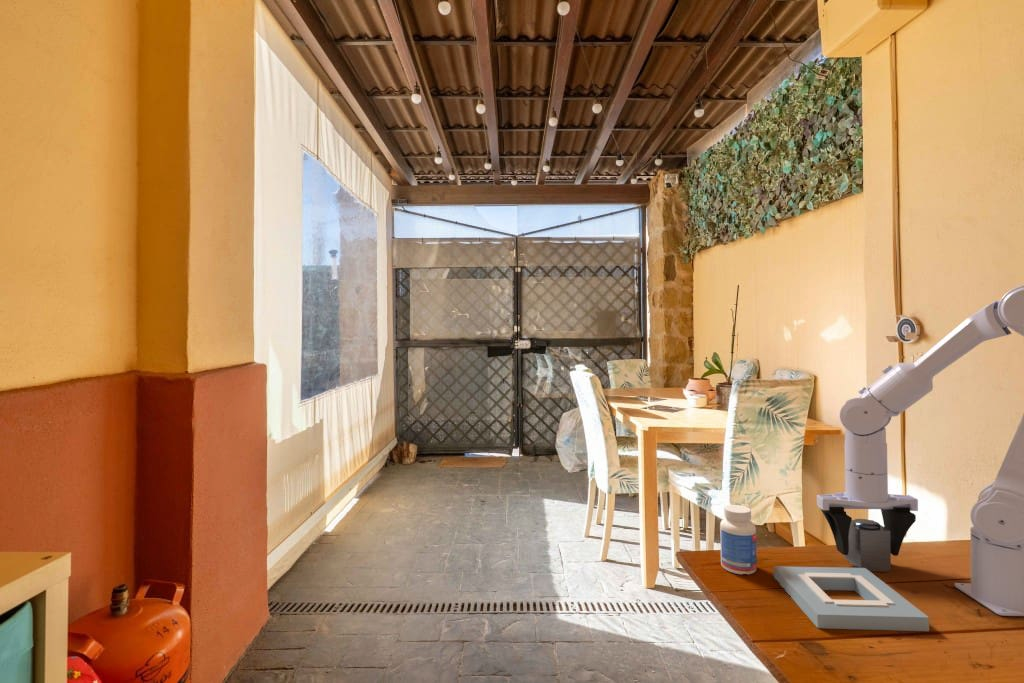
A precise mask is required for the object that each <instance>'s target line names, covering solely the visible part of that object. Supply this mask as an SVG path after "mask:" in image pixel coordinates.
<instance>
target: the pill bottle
mask: <svg viewBox="0 0 1024 683" xmlns="http://www.w3.org/2000/svg"><path fill="white" fill-rule="evenodd" d="M723 510H724V511H723V512H724V517H725V518H724V519H722V520H721V521H720V524H719V532H720V534H719V535H720V565H721V567H722V568H723V569H724V570H726V571H728V572H730V573H732V574H737V575H743V574H747V575H752V574H754V573H755V572H756V571H757V567H758V566H757V565H758V562H757V557H758V556H757V528H756V527H757V526H755V523H754V522H752V521H751V519H752V510H751V508H749V507H748V506H744V505H741V504H740V505H739V504H728V505H725V506H724V509H723Z"/></svg>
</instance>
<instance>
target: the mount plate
mask: <svg viewBox="0 0 1024 683" xmlns="http://www.w3.org/2000/svg"><path fill="white" fill-rule="evenodd" d="M773 579H775V581H776V580H777V581H778V582H779V583H780V584H779V583H778V582H777V581H776V582H777V583H778V584H779V585H780V586H781V587H782V589H783V588H784V589H785V590H784V589H783V590H784V591H785V592H786V593H787V595H788V596H789V595H790V596H791V597H790V596H789V597H790V598H791V599H792V600H793V602H794V603H795V604H796V605H797V606H798V607H799V608H800V610H801V611H802V612H803V613H804V614H805V615H806V616H807V618H808V619H809V620H810V621H811V622H812V623H813V625H814V626H815V627H816V628H817V629H831V630H832V629H834V630H836V629H837V630H868V631H869V630H870V631H906V632H914V631H915V632H929V631H930V617H929V616H928V615H927V614H925V612H922V611H921V610H920V609H919V608H917V607H916V606H915V605H914V604H913V603H911V602H910V601H908V600H907V599H906V598H904V596H902V595H901V594H900V593H898V592H897V591H896V590H894V589H893V588H892V587H890V586H889V585H888V584H887V583H886V582H884V581H883V580H881V578H879V577H877V576H876V575H875V574H874V573H872V571H869V570H867V569H866V568H857V567H839V566H838V567H837V566H835V567H832V566H831V567H828V566H827V567H826V566H823V567H822V566H781V565H780V566H774V565H773ZM825 591H855V592H856V593H857V594H858V595H859V596H860V597H862V599H835V598H834V599H833V598H831V597H830V596H828V594H827V593H825Z"/></svg>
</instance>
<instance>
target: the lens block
mask: <svg viewBox="0 0 1024 683" xmlns="http://www.w3.org/2000/svg"><path fill="white" fill-rule="evenodd" d="M844 559H846V561H848V562H849V563H850V564H852V565H853V566H854V567H855V568H866V569H867V570H869V571H870V572H891V571H892V566H891V564H892V562H891V559H892V554H891V547H890V530H888V529H886V528H885V527H884V525H882V524H880V523H879V522H877V521H875V520H873V519H872V520H871V519H867V518H855V519H852V521H851V524H850V529H849V552H848V555H844Z"/></svg>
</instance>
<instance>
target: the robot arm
mask: <svg viewBox="0 0 1024 683" xmlns="http://www.w3.org/2000/svg"><path fill="white" fill-rule="evenodd" d="M1009 329H1011V330H1012V331H1014V332H1015V333H1016V334H1018V335H1021V336H1023V337H1024V284H1022V285H1019V286H1016V287H1014V288H1012V289H1010V290H1009V291H1007V292H1006V293H1005V294H1004V295H1003V296H1002V297H1001V298H1000V300H998V301H997V300H993V301H992V302H991V303H989V304H987V305H985V306H984V307H982V308H981V309H979V310H978V311H976V312H975V313H973V314H972V315H970V316H968V317H967V318H966V319H965V320H963V321H962V322H961V323H960V324H958V325H957V326H956V327H955V328H954V329H953V330H951V331H950V332H948V333H947V334H946V335H945V336H944V337H943V338H942V339H941V340H939V341H938V342H937V343H936V344H934V345H933V346H932V347H931V348H929V349H928V350H927V351H926V352H925V353H924V354H923V355H922V356H920V357H919V358H918V359H917V360H916V361H914V362H897V363H896V364H895V365H894V366H892V365H887V366H886V367H884V368H883V369H882V371H881V372H882V373H883V375H882V376H880V377H879V378H878V379H877V380H876V381H874V382H872V383H871V384H870V385H869V386H868V387H865V386H864V387H861V388H860V389H859V390H858V394H860V396H859V397H853V398H850V399H847V400H846V402H845V403H844V405H842V407H841V409H840V411H839V419H840V423H841V424H842V426H843V427H844V483H845V484H844V485H845V486H844V489H845V490H844V492H836V493H828V494H817V495H816V506H817V507H818V508H819V509H820V511H821V512H822V515H823V516H824V518H825V519H826V521H827V523H828V526H829V528H830V529H831V532H832V536H833V538H834V542H835V547H836V550H837V551H838V552H839V553H841V554H842V555H843V556H845V555H848V552H849V529H850V524H851V521H852V520H853V518H852V517H851V516H849V515H848V514H847V511H845V510H880V512H881V515H882V521H883V527H885V528H886V529H888V530H890V547H891V556H895V557H897V556H899V553H900V550H901V547H902V545H903V541H904V539H905V536H906V534H907V533H908V532H909V530H910V528H911V527H912V525H914V523H916V520H917V515H916V514H915V513H913V512H917V511H919V500H918V498H916V497H914V496H911V495H910V494H909V495H908V494H907V495H905V494H893V493H890V494H889V487H888V483H889V481H888V480H889V479H888V475H889V474H888V443H887V428H886V427H887V426H888V425H889V424H890V422H891V421H892V418H893V417H898V416H899V415H901V414H902V413H903V412H904V411H906V410H908V409H909V408H910V407H912V406H913V405H914V404H915V403H917V402H918V401H920V400H921V399H922V398H924V397H925V396H927V395H928V394H930V392H932V391H933V389H934V388H933V387H934V386H933V385H934V383H933V381H934V380H933V379H934V377H935V376H937V375H938V374H939V373H941V372H942V371H944V370H945V369H947V368H948V367H949V366H951V365H952V364H954V363H955V362H956V361H958V360H959V359H960V358H962V357H963V356H965V355H967V353H969V352H970V351H972V350H973V349H975V348H977V346H979V345H980V344H982V343H983V342H986V341H991V340H994V339H997V338H1002V337H1005V336H1009V335H1012V332H1011V330H1009ZM969 517H970V521H971V524H972V526H971V527H970V582H966V583H965V582H955V583H954V587H955V588H956V589H958V590H960V591H961V592H963V593H964V594H966V595H967V596H969V597H970V598H972V599H973V600H975V601H977V602H978V603H980V604H981V605H983V606H984V607H986V608H987V609H989V610H990V611H992V612H993V613H995V614H997V615H998V616H1003V617H1004V616H1006V617H1007V616H1008V617H1024V413H1023V414H1022V417H1021V419H1020V422H1019V424H1018V426H1017V428H1016V431H1015V434H1014V436H1013V437H1012V440H1011V442H1010V444H1009V447H1008V449H1007V452H1006V454H1005V456H1004V459H1003V462H1002V463H1001V466H1000V468H999V469H998V472H997V475H996V477H995V479H994V481H993V482H992V483H990V484H989V485H987V486H986V487H985V488H983V489H982V490H981V491H980V492H979V495H978V499H977V502H976V503H974V504H973V506H972V508H971V510H970V516H969Z"/></svg>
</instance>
